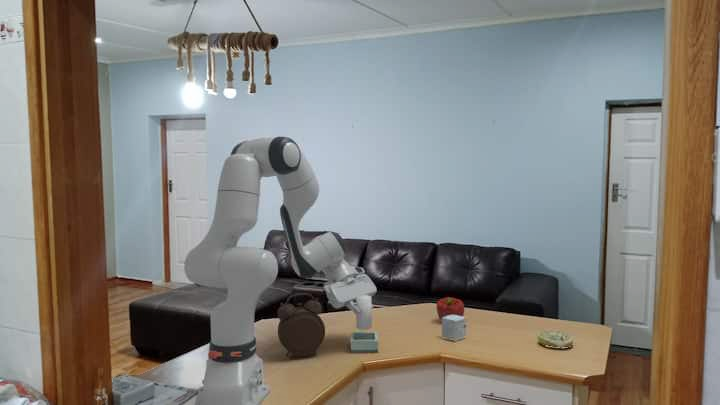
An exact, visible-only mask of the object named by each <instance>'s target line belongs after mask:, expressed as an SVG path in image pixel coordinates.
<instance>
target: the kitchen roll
mask: <svg viewBox="0 0 720 405" xmlns="http://www.w3.org/2000/svg"><path fill="white" fill-rule="evenodd" d="M371 303H372V297H371V296H368V295H363V296H360V297H357V298H356V302H355V306H356V307H357V308H358V307H359V308H360V310H361V311H362V312H361V313H360V314H359V315H355V318H356V323H355V324H356V325H355V326H356V327H355V328H356V329H358V330H361V331H363V330H364V331H366V330H367V331H368V330H371V329H372V328H373V325H372V323H373V322H372V321H373V318H372V317H373V316H372V315H373V311H372V310H373V309H372V305H373V303H372V304H371Z"/></svg>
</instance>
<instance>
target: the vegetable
mask: <svg viewBox="0 0 720 405" xmlns="http://www.w3.org/2000/svg"><path fill="white" fill-rule="evenodd" d="M436 313H437V316H438V319H439V320H440V321H441V322H442V317H445V316H448V315H452V314H454V315H458V316H462V317H464V315H465V305H464V302H463V301H462V300H460V299H458V298H455V297H450V296H446V297H444V298H440V299H439V300H438V301H437V303H436Z"/></svg>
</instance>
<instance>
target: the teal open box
mask: <svg viewBox="0 0 720 405" xmlns="http://www.w3.org/2000/svg"><path fill="white" fill-rule="evenodd" d="M350 353H351V354H373V353H374V354H377V353H379V339H378V332H377V331H357V332H356V331H351V332H350Z"/></svg>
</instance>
